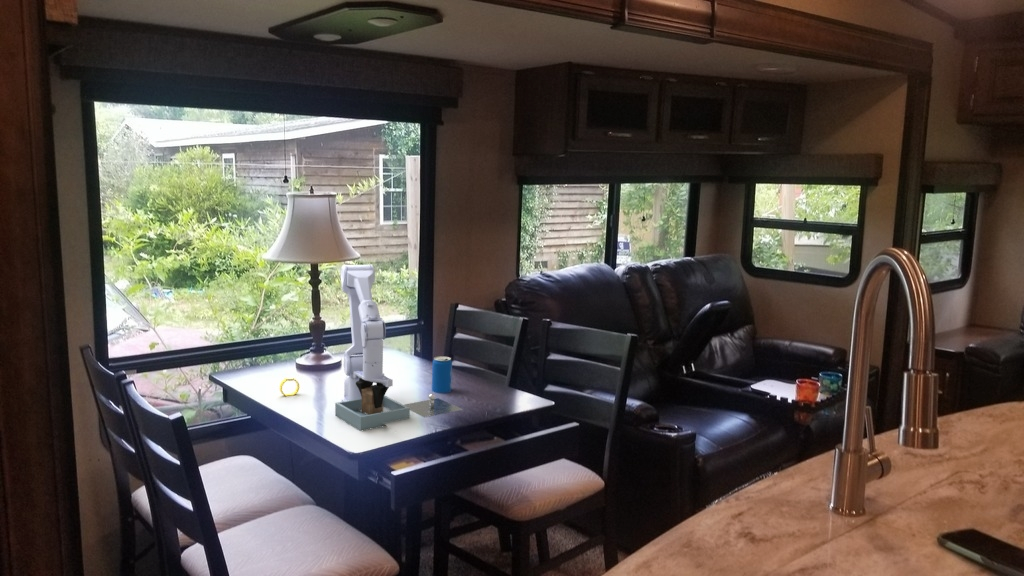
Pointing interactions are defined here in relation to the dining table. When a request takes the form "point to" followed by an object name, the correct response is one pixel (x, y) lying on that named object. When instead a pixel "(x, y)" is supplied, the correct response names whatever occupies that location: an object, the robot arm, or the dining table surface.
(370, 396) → the brown wooden block
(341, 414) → the bin
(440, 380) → the beverage can
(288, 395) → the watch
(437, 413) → the stud base
